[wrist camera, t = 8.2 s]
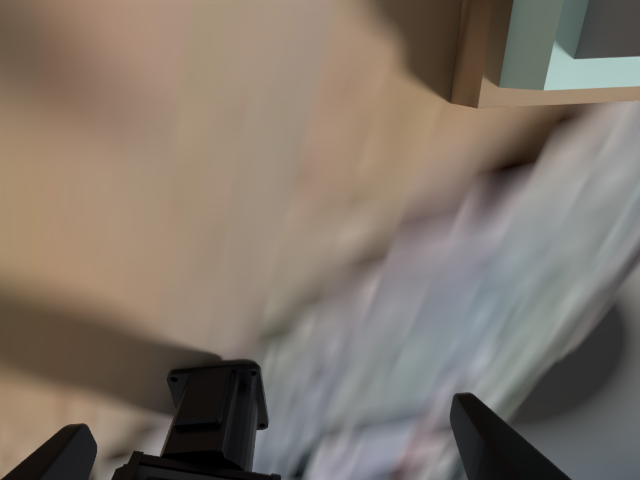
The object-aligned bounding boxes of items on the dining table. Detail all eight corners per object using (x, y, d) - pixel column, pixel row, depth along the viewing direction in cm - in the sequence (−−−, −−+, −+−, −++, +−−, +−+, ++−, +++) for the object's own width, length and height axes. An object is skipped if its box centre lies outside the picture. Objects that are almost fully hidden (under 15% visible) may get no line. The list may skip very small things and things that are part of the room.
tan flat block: (598, 96, 18) (651, 100, 16) (450, 103, 18) (477, 108, 15) (656, -106, 15) (737, -146, 12) (474, -102, 15) (515, -142, 12)
